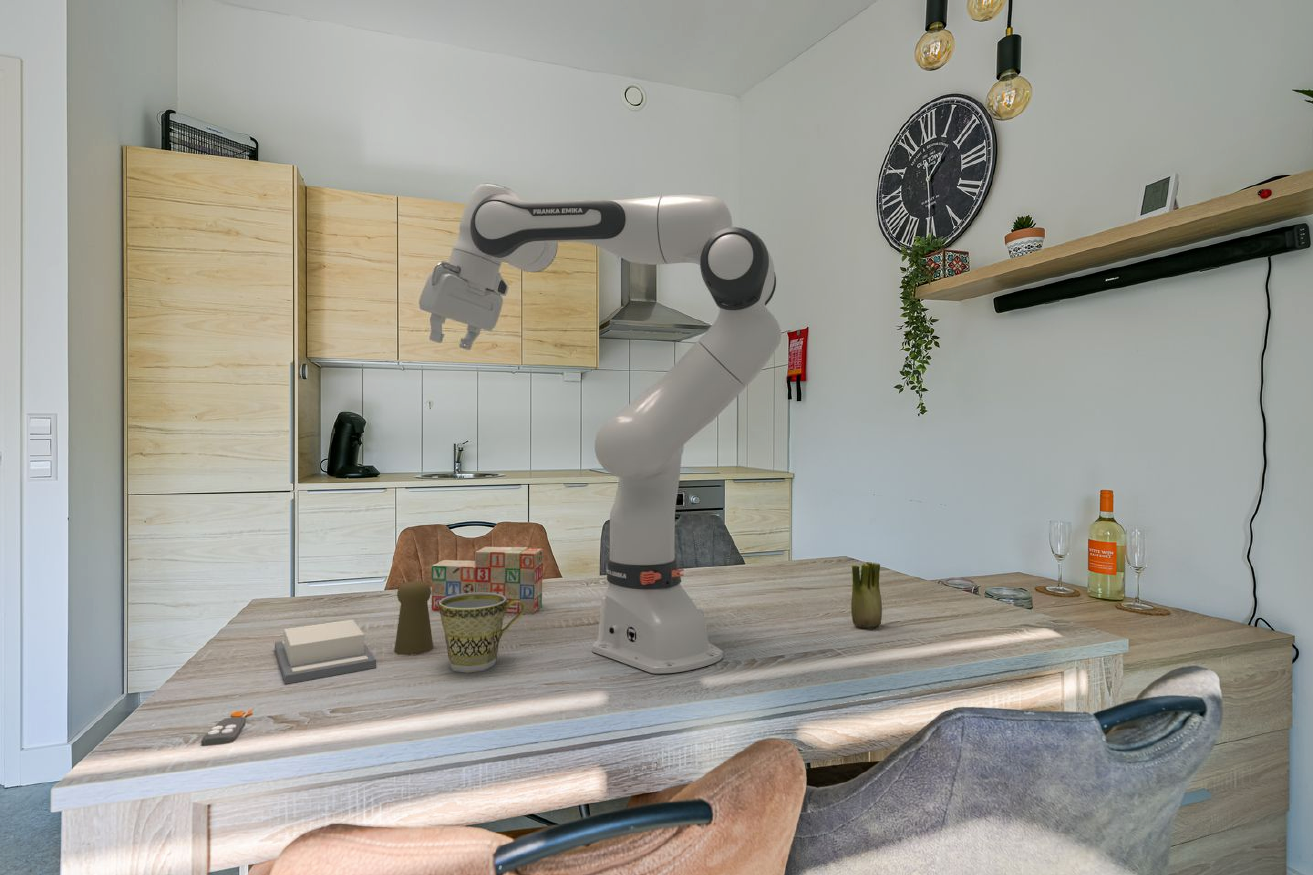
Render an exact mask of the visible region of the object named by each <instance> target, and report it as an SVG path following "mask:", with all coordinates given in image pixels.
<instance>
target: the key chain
mask: <svg viewBox="0 0 1313 875" xmlns="http://www.w3.org/2000/svg"><path fill="white" fill-rule="evenodd" d="M256 708H258V707H257V705H256V706H251V707H250V708H248V709H245V710H239V711H234V712H232V713H230V716H231V717H227V718H226V717H225V718H224V719H222V720H221V721H219V722H217V723H216V724H215V725H214V726H213V727H212V728H211V729H210V730H209V731H208V732H207V733H206V734H205V735H204V736H203V737H202V739H201V740H200V741H201V744H200V745H201V746H203V747H205V746H206V747H207V746H215V745H224V744H230V743H234V742H235V741H236V740H237V739H238V737H239V735H240V734H241V732H242V731H243V729H244V727H245V726H246V718H245V717H248V716H251V715H252V714H253V710H254V709H256Z"/></svg>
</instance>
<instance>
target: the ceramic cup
mask: <svg viewBox="0 0 1313 875" xmlns="http://www.w3.org/2000/svg"><path fill="white" fill-rule="evenodd" d="M506 600H507V599H506V597H505V596H503V595H500V594H496V593H484V592H477V593H464V594H458V595H453V596H449V597H446V598H444V599H442V600H440V601H439V610H440V611H439V615H440V616H439V617H440V621H441V624H442V630H443V632H444V640H445V644H446V650H447V656H448V662H449V666H451V667H450V668H451V670H452V671H453V672H458V673H467V674H470V673H475V672H483V671H487V670H488V669H490V668H491V667H493V666H495V665H496V663H497V658H498V657H497V655H498V651H499V644H500V640H501V638H502V636H503V635H504V633H505V632H506V631H508V629H509V628H510V627H511V626H512V625H513V624H514V623H515V622H516V621H517V620H518V619H519V618H520V617H521V616H522V615H524V614H523V612H524V604H523V602H522V601H521V600H518V599H512V600H509V601H508V602H506ZM514 603H520V604H521V606H522V609H521V612H520V613H519V614H516V616H515V617H514V618H513V619H511V621H509V622H508V624H507V625H506V626H505V627H504V628H503V622H504V617H505V615H506V614H507V613H506V611H507V609H508V608H509V607H510V606H511V605H513V604H514Z"/></svg>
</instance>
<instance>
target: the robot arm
mask: <svg viewBox="0 0 1313 875" xmlns="http://www.w3.org/2000/svg"><path fill="white" fill-rule="evenodd" d="M465 204H466V205H465V207H464V211H463V213H462V217H461V220H460V222H459V223H460V224H459V228H458V230H459V234H458V238H457V240H456V242H455V244H454V245H453V247H452V250H451V253H450V257H449V260H448V261H445V260H442V261H441V262H439V263H438V264H436V265H435V266H433V267H434V268H433V270H432V271H431V272H430V274H429V276H428V277H427V279H426V282H425V284H424V286H423V289H422V291H421V294H420V297H419V299H418V306H419V309H420V310H421V311H424V312H426V313H430V314H431V315H430V318H429V324H430V334H429V340H430V341H431V342H435V343H438V344H441V343H443V340H444V338H445V334H444V333H443V324H445V323H446V319H449V320H452V321H455V322H459V323H462V324H465V325H467V328H466V331H467V332H466V333H465V335H464V337H461V338H460V342H459V344H458V347H459V348H460V349H461V348H462V349H464V350H467V351H470V350H471V349H472V347H473V343H475V340H476V339H477V338H478V337H479V335H480V333H481V330H484V331H486V332H492V331H493V329H495V327H496V325H497V323H498V319H499V317H500V315H501V311H502V308H503V304H504V300H503V297H506V296H507V294H508V291H509V285H508V283H506V281H505V280H504V278H503V276H502V275H501V272H500V268H501V266H502V263H503V262H504V263H507V264H508V265H510V266H512V267H514V268H517V269H518V270H520V271H524V272H529V273H539V272H543V271H544V270H546V269H547V268H548V267H549V266H550V265H551V264H552V262H554V260H555V257H556V255H557V253H558V246H559V245H558V243H573V242H575V243H577V242H578V243H584V244H589V245H592V246H596V247H598V248H601V249H602V250H605V251H608V252H609V253H612V255H615V256H617V257H618V258H621V259H624V261H627V262H629V263H634V264H641V265H651V266H652V265H655V266H657V265H673V264H685V263H689V264H695V265H696V264H697V265H699V267H700V273H701V274H700V275H701V278H702V280H703V283H704V284H705V286H706V288H707V290H708V291H709V293H710V295H711V297H712V299H713V301H714V302H715V304H716V307H718V308H719V309H718V310H719V311H718V314H717V317H716V319H715V321H714V322H713V324H712V325H711V326H710V327H709V328H708V329H707V331H705V333H704V334H703V335H702V336H701V337H700V338H699V339H698V340H697V341H696V342H695V343H694V344H693V345H692V346H691V347H690V348H689V349H688V350H687V351H686V352H685V353H684V354H683V356H682V357H681V358H680V359H679V360H678V361H677V362H676V363H675V364H674V365H673V366H672V367H671V368H670V369H669V370H668V371H667V372H666V373H665V374H664V375H663V376H662V377H661V378H660V379H658V380H657V381H656V382H655V383H653V384H652V385H651V386H649V387H648V388H647V389H646V390H644V391H643V392H641V394H639V395H638V396H637V397H636V398H635V399H633V401H631V402H630V403H629V404H628V405H627V406H625V407H624V408H623V409H622V410H621V411H620V412H618V413H617V414H616V415H615V416H613V417H612V418H611V419H610V418H609V420H608V421H607V420H606V422H605V423H603V425H602V426H601V427H600V428H599V429H598V432H597V433H596V436H595V440H594V451H595V456H596V460H597V461H598V463H599V465H600V466H601V467H602V468H603V469H604V470H605V472H608V473H609V474H611V475H612V476H615V477H616V478H618V482H617V483H618V484H617V488H616V493H615V498H614V503H613V505H612V507H611V510H610V513H609V558H608V559H607V561H606V568H605V569H606V570H605V572H606V580H607V582H608V586H607V589H606V592H605V593H604V595H603V596H602V598H601V601H600V612H599V620H598V621H599V622H598V635H597V640H596V641H595V642H593V643H592V645H591V646H592V647H591V652H593V653H595V654H598V655H601V656H604V657H606V658H609V659H612V660H615V661H617V662H621V663H623V664H625V665H628V666H631V667H634V668H637V669H639V670H642V671H645V672H646V673H647V672H648V673H651V674H673V673H680V672H686V671H691V670H695V669H700V668H703V667H706V666H709V665H713V664H715V663H717V662H719V661H721V660H722V659H723V658H724V652H723V650H722V649H720V648H719V647H717V646H716V645H715V644H713V643H711V642H710V641H709V636H708V626H707V624H708V623H707V620H706V618H705V613H704V611H703V610H702V609H701V608H698V607H697V605H696V604H695V602H694V601H693V600H692V598H691V597H690V596H689V595H688V593H687V591H685V589H684V588H683V585H682V584H681V582H682V578H681V577H684V576H685V574H681V573H682V572H684V571H685V569H684V568H681V569H680V567H679V565H678V562H677V559H676V558H675V541H676V540H675V536H676V534H675V533H676V532H675V528H676V524H675V523H676V521H675V518H676V517H675V516H676V507H677V497H678V492H679V487H680V486H679V484H680V477H681V469H682V468H681V467H682V465H681V464H682V457H683V453H684V447H685V446H684V445H685V444H686V443H687V442H688V441H690V440H691V439H692V438H693V437H695V435H697V434H698V433H699V432H701V431H702V430H703V429H704V428H705V427H707V426H708V425H709V424H711V423H712V422H713V421H714V420H716V418H718V416H719V415H720V414H721V413H722V412H723V411H724V410H725V409H726V408H727V407H729V405H730V404H731V403H732V402H733V401H734V400H735V399H736V397H738V396H739V395H740V394H741V393H742V392H743V391H744V390H745V389H746V388H747V386H749V385H750V384H751V382H752V381H753V380H754V379H756V377H757V376H758V374H760V372H761V371H762V370H763V368H764V367H766V365H767V363H768V362H769V361H770V359H771V358H772V356H773V355H774V353H775V352H776V351H777V349H778V347H779V345H780V344H781V341H782V329H781V327H780V324H779V322H778V320H777V319H776V317H775V315H773V313H771V311H770V310H768V308H767V304H769V303H770V301H771V300H772V298H773V296H774V293H775V291H776V286H777V277H776V276H777V275H776V272H775V265H774V264H775V263H774V261H773V259H772V255H771V254H770V252H769V250H768V248H767V246H766V244H765V242H764V241H763V240H762V239H761V237H760V236H758V235H757V234H756V233H754V232H753V231H751V230H749V229H747V228H744V227H740V226H739V227H738V226H737V227H736V226H734V227H733V220H732V215H731V212H730V209H729V208H728V206H727V205H726V203H725V201H724V200H722V199H721V198H718V197H717V196H710V195H702V194H701V195H699V194H669V195H657V196H656V195H655V196H649V197H638V198H626V199H606V200H603V199H602V200H598V199H597V200H593V199H591V200H590V199H589V200H588V199H583V200H582V199H581V200H580V199H579V200H575V199H574V200H554V201H553V200H544V201H541V200H540V201H528V200H523V199H520V198H519V197H518V195H517V194H516V192H515V191H513V190H512V189H510V188H508V187H506V186H502V185H499V184H497V183H496V184H495V183H482V184H478V185H477V186H476V187H475V188H474V189H473V191H472V192H471V194H470V195H469V198H468V200H467V202H466V203H465Z"/></svg>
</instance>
